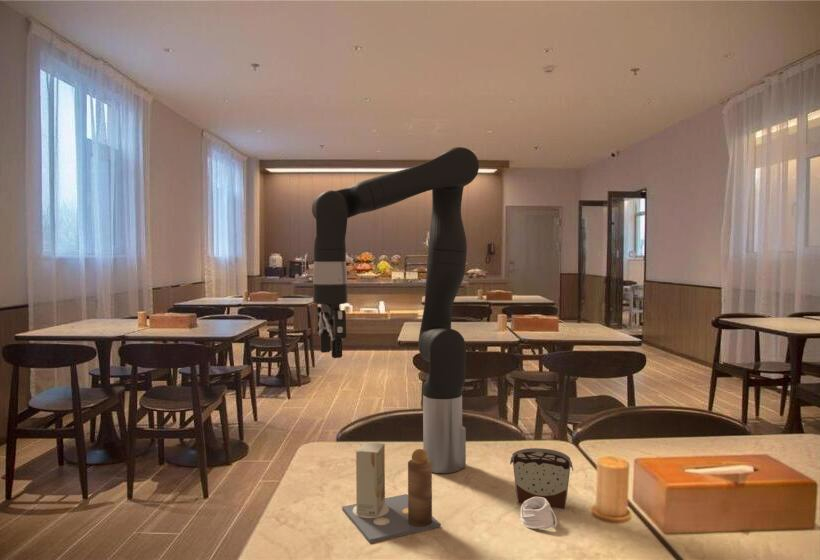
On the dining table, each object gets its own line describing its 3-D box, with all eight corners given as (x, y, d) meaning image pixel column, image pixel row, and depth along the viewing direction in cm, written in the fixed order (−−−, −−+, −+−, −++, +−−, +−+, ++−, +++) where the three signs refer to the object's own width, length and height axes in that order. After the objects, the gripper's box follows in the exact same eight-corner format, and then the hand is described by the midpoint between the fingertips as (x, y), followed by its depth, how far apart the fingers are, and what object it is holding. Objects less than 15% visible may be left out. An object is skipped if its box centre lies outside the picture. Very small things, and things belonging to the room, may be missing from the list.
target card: (406, 496, 120) (406, 493, 120) (440, 526, 106) (440, 523, 106) (342, 509, 114) (342, 506, 114) (369, 543, 100) (369, 539, 100)
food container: (575, 499, 118) (575, 450, 118) (573, 511, 112) (573, 460, 112) (514, 491, 122) (514, 444, 122) (509, 503, 116) (509, 454, 116)
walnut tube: (425, 514, 110) (425, 444, 110) (436, 523, 106) (435, 451, 106) (404, 518, 108) (404, 447, 108) (414, 528, 104) (414, 454, 104)
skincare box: (377, 517, 109) (377, 453, 108) (355, 515, 109) (355, 451, 109) (385, 503, 115) (385, 442, 114) (364, 501, 116) (364, 441, 115)
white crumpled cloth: (563, 536, 104) (566, 511, 104) (528, 536, 103) (531, 510, 103) (546, 514, 112) (549, 490, 112) (513, 513, 111) (516, 489, 111)
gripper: (357, 282, 123) (357, 358, 124) (336, 280, 136) (337, 349, 137) (323, 283, 120) (323, 361, 120) (305, 281, 133) (306, 351, 133)
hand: (330, 354), depth 129 cm, fingers open, 8 cm apart
